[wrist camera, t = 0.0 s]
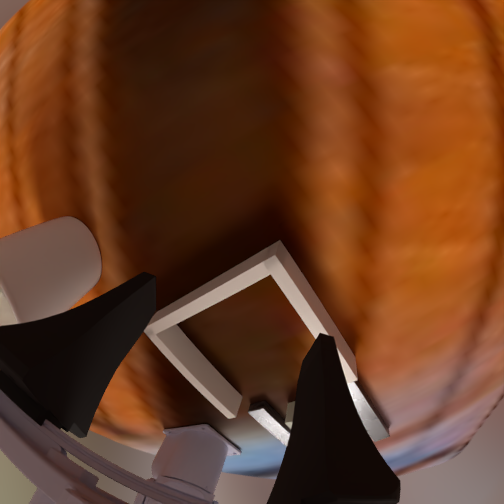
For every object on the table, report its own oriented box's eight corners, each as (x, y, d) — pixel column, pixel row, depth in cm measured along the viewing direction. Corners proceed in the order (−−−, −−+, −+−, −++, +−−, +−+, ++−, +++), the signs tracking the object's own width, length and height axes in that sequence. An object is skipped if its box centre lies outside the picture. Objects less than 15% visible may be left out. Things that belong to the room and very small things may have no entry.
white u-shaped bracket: (235, 398, 29) (228, 418, 26) (156, 311, 26) (141, 329, 23) (355, 357, 23) (357, 379, 21) (280, 239, 21) (275, 254, 18)
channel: (304, 453, 31) (303, 460, 30) (250, 404, 28) (248, 412, 27) (388, 429, 27) (389, 436, 26) (351, 370, 24) (352, 379, 23)
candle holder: (98, 309, 28) (29, 374, 17) (44, 261, 28) (-27, 306, 17) (118, 241, 24) (21, 304, 13) (55, 191, 24) (-37, 226, 13)
